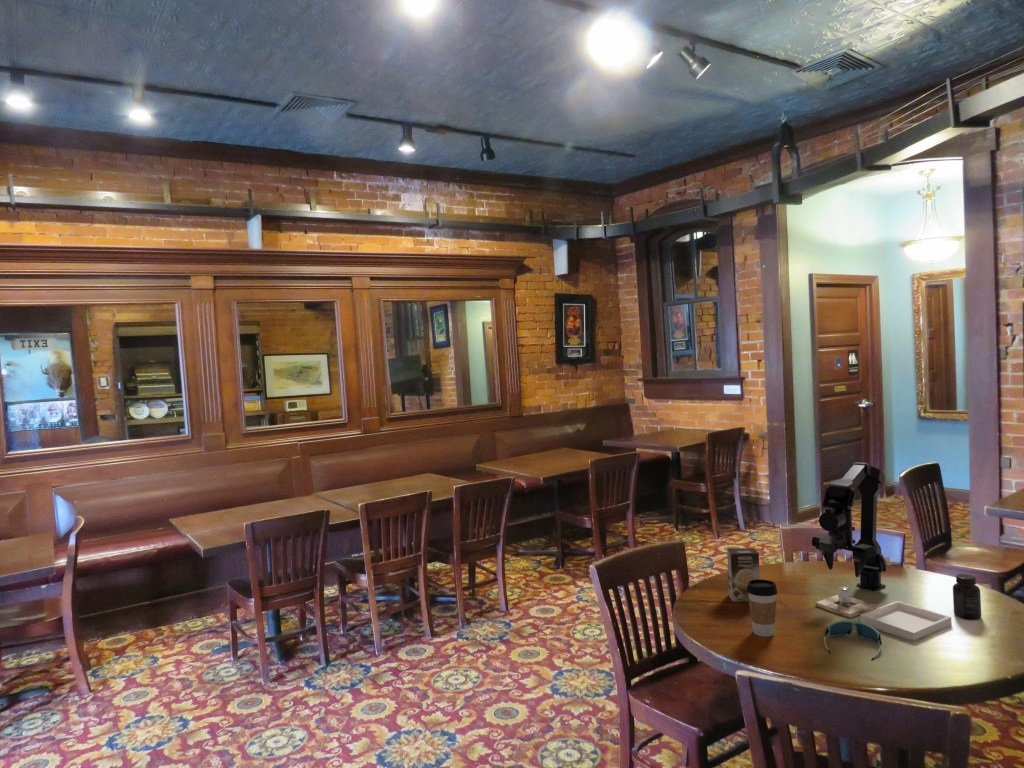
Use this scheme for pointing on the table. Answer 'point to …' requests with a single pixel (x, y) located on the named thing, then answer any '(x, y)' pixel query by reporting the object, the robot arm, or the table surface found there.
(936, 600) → the table surface
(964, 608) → the supplement bottle
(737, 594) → the coffee box
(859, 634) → the sunglasses
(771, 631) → the coffee cup
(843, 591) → the steel pin
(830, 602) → the socket block
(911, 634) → the tray
